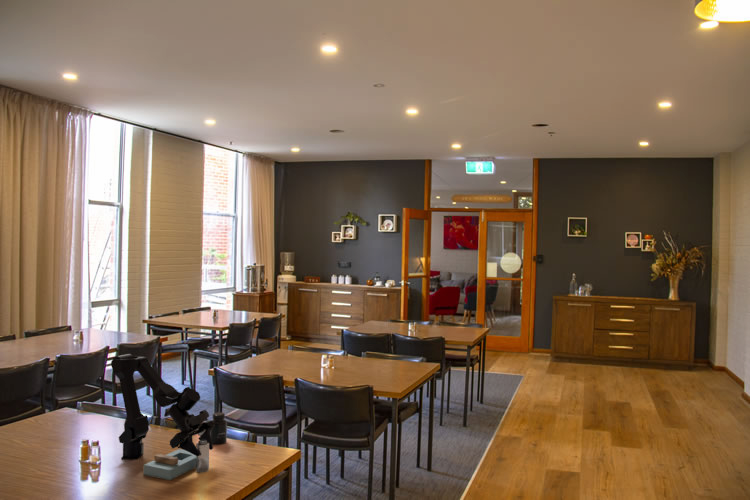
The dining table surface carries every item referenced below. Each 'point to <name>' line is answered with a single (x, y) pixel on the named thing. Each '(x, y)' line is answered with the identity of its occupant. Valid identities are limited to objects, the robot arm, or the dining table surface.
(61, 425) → the dining table surface
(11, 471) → the dining table surface
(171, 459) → the lock bar
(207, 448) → the grey cylindrical piece
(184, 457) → the socket
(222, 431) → the supplement bottle
